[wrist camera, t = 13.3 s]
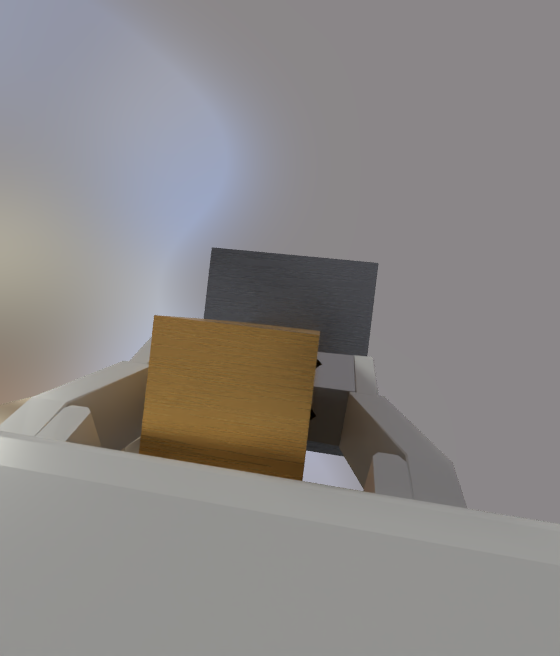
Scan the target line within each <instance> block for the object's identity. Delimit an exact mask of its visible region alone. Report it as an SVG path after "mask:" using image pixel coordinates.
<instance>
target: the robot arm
mask: <svg viewBox="0 0 560 656" xmlns="http://www.w3.org/2000/svg"><path fill="white" fill-rule="evenodd" d="M151 340H152V337H151V338H150V339H149V340H148V341H147V342H146V343H145V344H144V346H143V347H142V348H141V349H140V350H139V351H138V352H137V353H136V354H135V355H134V356H133V357H132V359H131V360H130V361H129V362H128V361H122V362H120V363H117V364H115V365H112V366H110V367H107V368H105V369H102V370H99V371H97V372H95V373H92V374H89V375H87V376H84V377H82V378H79V379H77V380H74V381H72V382H69V383H67V384H64V385H61V386H59V387H57V388H54V389H52V390H49V391H47V392H44V393H41V394H39V395H36V396H34V397H31V398H30V399H29V400H28V401H27V402H26V403H24V404H23V405H22V406H21V407H20V408H19V409H18V410H16V411H15V412H14V413H13V414H12V415H11V416H10V417H8V418H7V419H6V420H5V421H4V422H3V423H1V424H0V656H560V524H557V523H551V522H545V521H539V520H532V519H527V518H520V517H515V516H508V515H503V514H496V513H490V512H485V511H479V510H473V509H467V506H466V503H465V500H464V497H463V494H462V490H461V487H460V484H459V481H458V478H457V475H456V472H455V468H454V465H453V462H451V460H449V459H448V458H447V457H446V456H445V455H444V454H443V453H442V452H441V451H440V450H439V449H438V448H437V447H436V446H435V445H434V444H433V443H432V442H431V441H430V440H429V439H428V438H427V437H426V436H424V434H422V433H421V432H420V431H419V430H418V429H417V428H416V427H415V426H414V425H413V424H412V423H411V422H410V421H409V420H408V419H407V418H406V417H405V416H404V415H403V414H402V413H401V412H400V411H399V410H397V408H396V407H395V406H394V405H393V404H391V403H390V402H389V401H388V400H387V399H386V398H385V397H384V396H379V395H378V388H377V380H376V373H375V365H374V359H373V358H372V357H368V356H357V355H345V354H335V353H325V352H318V353H317V362H316V370H315V378H314V387H313V395H312V404H311V412H310V421H309V429H308V437H307V440H308V441H313V442H319V443H324V444H330V445H335V446H339V448H340V450H341V452H342V453H343V455H344V457H345V459H346V460H347V462H348V464H349V465H350V467H351V469H352V470H353V472H354V474H355V475H356V477H357V479H358V480H359V482H360V484H361V486H362V487H363V489H364V491H358V490H352V489H346V488H340V487H334V486H328V485H322V484H317V483H311V482H305V481H299V480H293V479H287V478H281V477H275V476H269V475H263V474H257V473H252V472H246V471H240V470H234V469H227V468H221V467H215V466H209V465H203V464H197V463H191V462H185V461H179V460H173V459H167V458H161V457H155V456H149V455H143V454H137V453H131V452H125V451H121V450H122V449H123V448H125V447H126V446H128V445H129V444H131V443H132V442H133V441H135V440H136V439H138V438H139V437H140V436H141V429H142V420H143V411H144V402H145V394H146V385H147V376H148V367H149V358H150V349H151Z"/></svg>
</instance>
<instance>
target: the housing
mask: <svg viewBox="0 0 560 656" xmlns="http://www.w3.org/2000/svg"><path fill="white" fill-rule="evenodd" d="M377 270H378V263H371V262H361V261H350V260H338V259H329V258H318V257H308V256H297V255H285V254H276V253H265V252H253V251H243V250H232V249H221V248H212V251H211V260H210V269H209V277H208V286H207V295H206V304H205V313H204V319H197V318H184V317H170V316H157V315H155V316H154V322H153V331H152V340H151V349H150V358H149V367H148V376H147V385H146V394H145V402H144V411H143V420H142V429H141V438H140V447H139V454H143V455H149V456H155V457H161V458H167V459H173V460H179V461H185V462H191V463H197V464H203V465H209V466H215V467H221V468H227V469H234V470H240V471H246V472H252V473H257V474H263V475H269V476H275V477H281V478H287V479H293V480H299V481H302V479H303V471H304V462H305V454H306V450H307V451H313V452H319V453H326V454H332V455H339V456H344V455H343V453H342V452H341V450H340V448H339V446H335V445H330V444H324V443H319V442H313V441H308V440H307V437H308V429H309V421H310V412H311V404H312V395H313V387H314V378H315V370H316V362H317V353H318V352H325V353H335V354H345V355H357V356H367V353H368V345H369V336H370V328H371V320H372V312H373V303H374V295H375V286H376V279H377V278H376V277H377Z"/></svg>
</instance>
